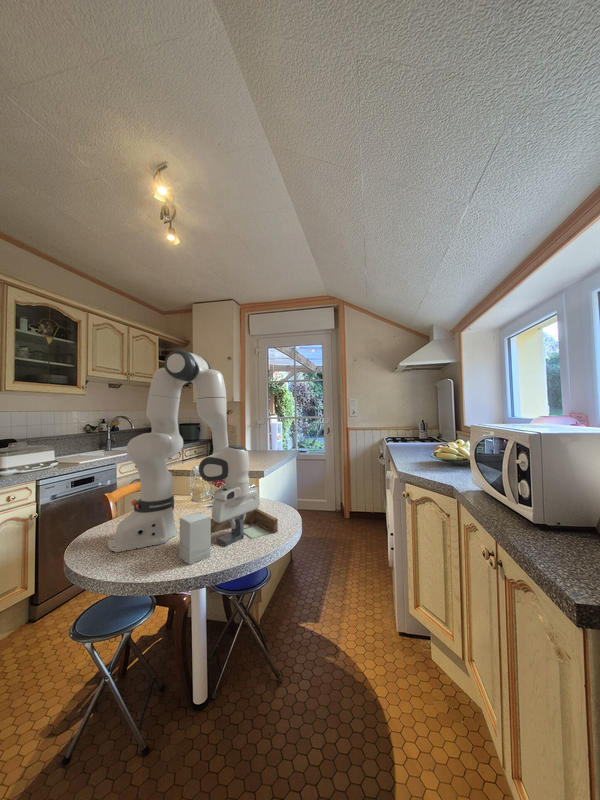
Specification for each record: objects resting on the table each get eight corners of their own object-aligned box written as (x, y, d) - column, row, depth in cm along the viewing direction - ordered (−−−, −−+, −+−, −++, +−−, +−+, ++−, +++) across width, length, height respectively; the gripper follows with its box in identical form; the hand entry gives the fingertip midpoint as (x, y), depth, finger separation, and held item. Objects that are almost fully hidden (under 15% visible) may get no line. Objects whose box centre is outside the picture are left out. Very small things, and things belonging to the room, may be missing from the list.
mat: (252, 539, 105) (252, 538, 105) (239, 530, 113) (239, 529, 113) (268, 533, 109) (268, 533, 109) (255, 525, 117) (255, 525, 117)
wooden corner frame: (223, 549, 97) (223, 534, 97) (205, 533, 110) (205, 520, 111) (277, 532, 110) (277, 519, 111) (255, 519, 124) (255, 507, 124)
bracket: (226, 546, 99) (226, 525, 100) (217, 542, 102) (217, 522, 103) (243, 538, 106) (243, 518, 106) (234, 534, 109) (234, 515, 109)
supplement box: (211, 556, 92) (211, 516, 93) (188, 565, 87) (189, 522, 88) (200, 549, 97) (200, 511, 98) (178, 557, 92) (179, 517, 93)
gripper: (252, 482, 118) (252, 517, 117) (209, 494, 101) (209, 534, 101) (263, 484, 114) (263, 520, 113) (220, 497, 97) (220, 538, 97)
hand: (237, 527), depth 107 cm, fingers closed on bracket
